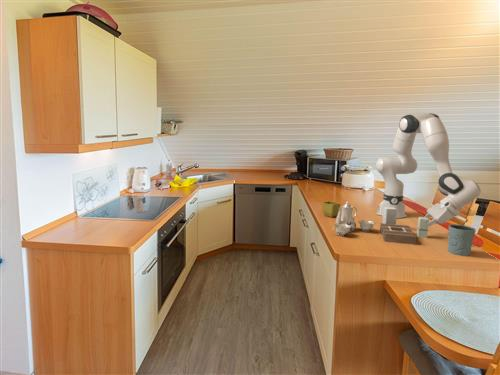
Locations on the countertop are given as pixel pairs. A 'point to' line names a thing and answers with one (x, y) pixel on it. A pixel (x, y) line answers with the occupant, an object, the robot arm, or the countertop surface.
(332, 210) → the flower pot
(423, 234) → the sage peg
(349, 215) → the chinaware
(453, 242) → the blue-grey embossed planter
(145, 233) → the countertop surface
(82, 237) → the countertop surface
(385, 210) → the skincare box
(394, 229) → the socket board
